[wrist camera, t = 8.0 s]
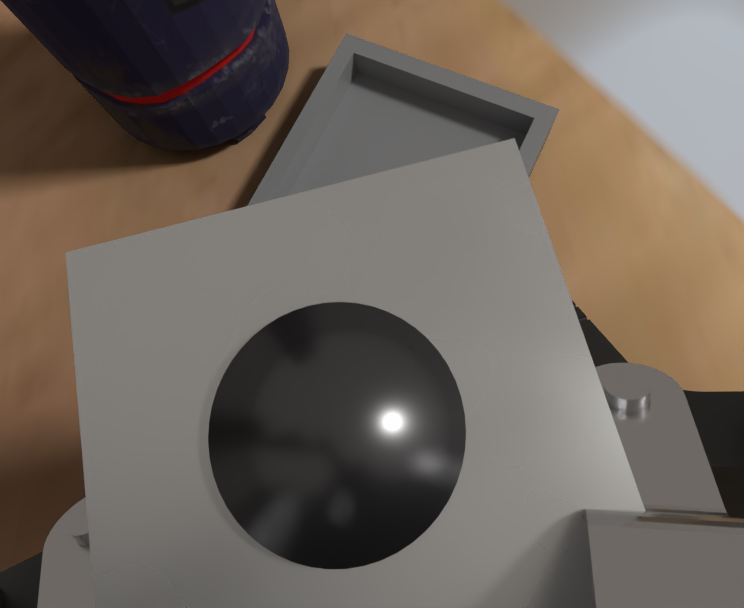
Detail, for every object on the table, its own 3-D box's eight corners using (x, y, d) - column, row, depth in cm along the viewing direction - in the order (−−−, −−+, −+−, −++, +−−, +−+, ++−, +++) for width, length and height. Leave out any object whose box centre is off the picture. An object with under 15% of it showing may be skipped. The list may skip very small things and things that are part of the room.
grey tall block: (320, 553, 14) (100, 808, 4) (286, 370, 15) (56, 247, 6) (504, 509, 14) (707, 667, 4) (453, 329, 15) (517, 129, 5)
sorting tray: (252, 239, 31) (237, 222, 29) (351, 63, 33) (346, 33, 31) (457, 332, 28) (460, 322, 26) (548, 135, 31) (559, 109, 28)
